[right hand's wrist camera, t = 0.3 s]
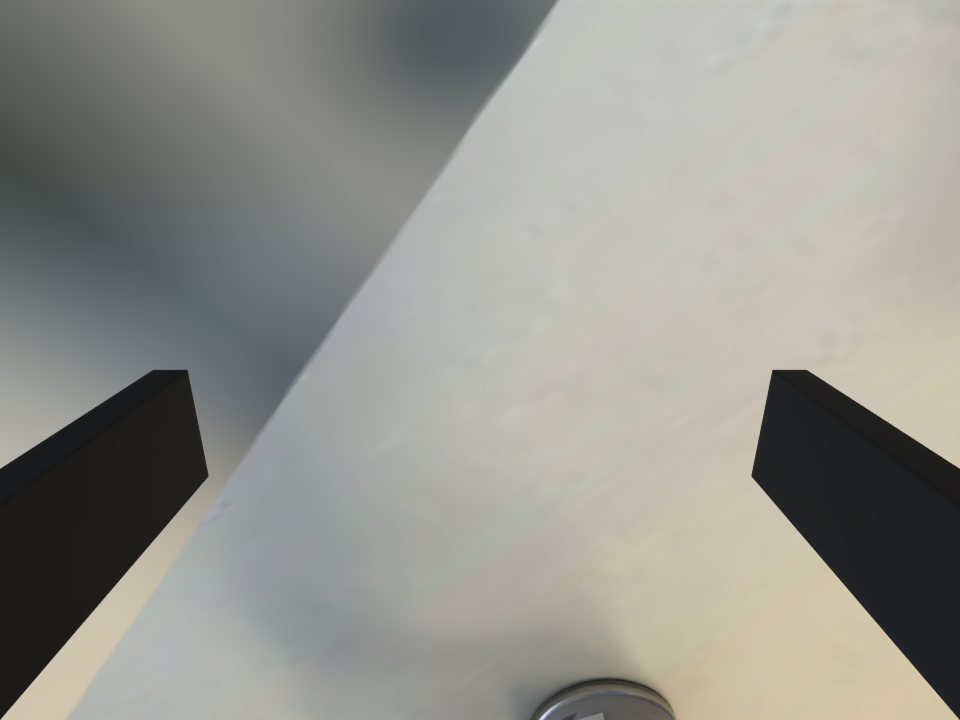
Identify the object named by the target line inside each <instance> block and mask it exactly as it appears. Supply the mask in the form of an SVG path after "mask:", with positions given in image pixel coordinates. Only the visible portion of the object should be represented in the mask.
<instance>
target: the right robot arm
mask: <svg viewBox="0 0 960 720" xmlns="http://www.w3.org/2000/svg"><path fill="white" fill-rule="evenodd" d="M207 477H208V471H207V466H206V461H205V456H204V451H203V446H202V441H201V435H200V430H199V425H198V420H197V416H196V410H195V406H194V400H193V395H192V390H191V385H190V380H189V375H188V370H153V371H151V372H149V373H148V374H146V375H145V376H143V377H142V378H140V379H139V380H137V381H135V382H134V383H132V384H131V385H129V386H128V387H126V388H125V389H123V390H122V391H120V392H119V393H117V394H115V395H114V396H112V397H111V398H109V399H108V400H106V401H104V402H103V403H101V404H100V405H98V406H97V407H95V408H94V409H92V410H91V411H89V412H88V413H86V414H84V415H83V416H81V417H80V418H78V419H77V420H75V421H74V422H72V423H71V424H69V425H67V426H66V427H64V428H63V429H61V430H60V431H58V432H56V433H55V434H53V435H52V436H50V437H49V438H47V439H46V440H44V441H43V442H41V443H40V444H38V445H36V446H35V447H33V448H32V449H30V450H29V451H27V452H26V453H24V454H22V455H21V456H19V457H18V458H16V459H15V460H13V461H12V462H10V463H9V464H7V465H5V466H4V467H2V468H1V469H0V719H1V718H2V717H3V716H4V715H5V714H6V713H7V711H8V710H9V709H10V708H11V707H12V705H13V704H14V703H15V702H16V701H17V700H18V698H19V697H20V696H21V695H22V694H23V693H24V691H25V690H26V689H27V688H28V687H29V686H30V684H31V683H32V682H33V681H34V680H35V679H36V677H37V676H38V675H39V674H40V673H41V672H42V670H43V669H44V668H45V667H46V666H47V665H48V663H49V662H50V661H51V660H52V659H53V657H54V656H55V655H56V654H57V653H58V652H59V650H60V649H61V648H62V647H63V646H64V645H65V644H66V642H67V641H68V640H69V639H70V638H71V636H72V635H73V634H74V633H75V632H76V631H77V629H78V628H79V627H80V626H81V625H82V624H83V622H84V621H85V620H86V619H87V618H88V617H89V615H90V614H91V613H92V612H93V611H94V610H95V608H96V607H97V606H98V605H99V604H100V603H101V601H102V600H103V599H104V598H105V597H106V596H107V594H108V593H109V592H110V591H111V590H112V589H113V587H114V586H115V585H116V584H117V583H118V582H119V580H120V579H121V578H122V577H123V576H124V574H125V573H126V572H127V571H128V570H129V569H130V567H131V566H132V565H133V564H134V563H135V562H136V560H137V559H138V558H139V557H140V556H141V555H142V554H143V552H144V551H145V550H146V549H147V548H148V546H149V545H150V544H151V543H152V542H153V541H154V539H155V538H156V537H157V536H158V535H159V534H160V532H161V531H162V530H163V529H164V528H165V527H166V525H167V524H168V523H169V522H170V521H171V520H172V518H173V517H174V516H175V515H176V514H177V513H178V511H179V510H180V509H181V508H182V507H183V505H184V504H185V503H186V502H187V501H188V500H189V499H190V497H191V496H192V495H193V494H194V493H195V492H196V490H197V489H198V488H199V487H200V486H201V484H202V483H203V482H204V481H205V480H206V479H207ZM752 478H753V479H754V480H755V481H756V482H757V483H758V485H759V486H760V487H761V488H762V489H763V490H764V492H765V493H766V494H767V495H768V496H769V497H770V499H771V500H772V501H773V502H774V503H775V504H776V506H777V507H778V508H779V509H780V510H781V511H782V513H783V514H784V515H785V516H786V517H787V518H788V520H789V521H790V522H791V523H792V524H793V525H794V527H795V528H796V529H797V530H798V531H799V532H800V534H801V535H802V536H803V537H804V538H805V539H806V541H807V542H808V543H809V544H810V545H811V546H812V548H813V549H814V550H815V551H816V552H817V554H818V555H819V556H820V557H821V558H822V559H823V561H824V562H825V563H826V564H827V565H828V566H829V568H830V569H831V570H832V571H833V572H834V573H835V575H836V576H837V577H838V578H839V579H840V580H841V582H842V583H843V584H844V585H845V586H846V587H847V589H848V590H849V591H850V592H851V593H852V594H853V596H854V597H855V598H856V599H857V600H858V601H859V603H860V604H861V605H862V606H863V607H864V608H865V610H866V611H867V612H868V613H869V614H870V615H871V617H872V618H873V619H874V620H875V621H876V622H877V624H878V625H879V626H880V627H881V628H882V629H883V631H884V632H885V633H886V634H887V635H888V637H889V638H890V639H891V640H892V641H893V642H894V644H895V645H896V646H897V647H898V648H899V649H900V651H901V652H902V653H903V654H904V655H905V656H906V658H907V659H908V660H909V661H910V662H911V663H912V665H913V666H914V667H915V668H916V669H917V670H918V672H919V673H920V674H921V675H922V676H923V677H924V679H925V680H926V681H927V682H928V683H929V684H930V686H931V687H932V688H933V689H934V690H935V691H936V693H937V694H938V695H939V696H940V697H941V698H942V700H943V701H944V702H945V703H946V704H947V705H948V707H949V708H950V709H951V710H952V711H953V713H954V714H955V715H956V716H957V717H958V718H959V720H960V469H959V468H958V467H956V466H955V465H953V464H951V463H950V462H948V461H947V460H945V459H944V458H942V457H941V456H939V455H938V454H936V453H934V452H933V451H931V450H930V449H928V448H927V447H925V446H924V445H922V444H921V443H919V442H917V441H916V440H914V439H913V438H911V437H910V436H908V435H907V434H905V433H904V432H902V431H900V430H899V429H897V428H896V427H894V426H893V425H891V424H890V423H888V422H886V421H885V420H883V419H882V418H880V417H879V416H877V415H876V414H874V413H873V412H871V411H869V410H868V409H866V408H865V407H863V406H862V405H860V404H859V403H857V402H856V401H854V400H852V399H851V398H849V397H848V396H846V395H845V394H843V393H842V392H840V391H838V390H837V389H835V388H834V387H832V386H831V385H829V384H828V383H826V382H825V381H823V380H821V379H820V378H818V377H817V376H815V375H814V374H812V373H811V372H809V371H808V370H772V375H771V380H770V385H769V390H768V395H767V400H766V405H765V410H764V415H763V420H762V425H761V430H760V435H759V441H758V446H757V451H756V456H755V461H754V466H753V471H752ZM531 720H676V717H675V714H674V712H673V710H672V709H671V707H670V706H669V705H668V703H667V702H666V701H665V700H664V699H663V698H662V697H660V696H659V695H658V694H656V693H654V692H653V691H651V690H649V689H647V688H645V687H642V686H640V685H636V684H633V683H628V682H623V681H611V680H606V681H593V682H587V683H583V684H579V685H576V686H573V687H570V688H567V689H565V690H563V691H561V692H559V693H557V694H556V695H554V696H552V697H551V698H550V699H548V700H547V701H546V702H545V703H544V704H542V705H541V707H540V708H539V709H538V710H537V711H536V713H535V714H534V716H533V717H532V719H531Z"/></svg>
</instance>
